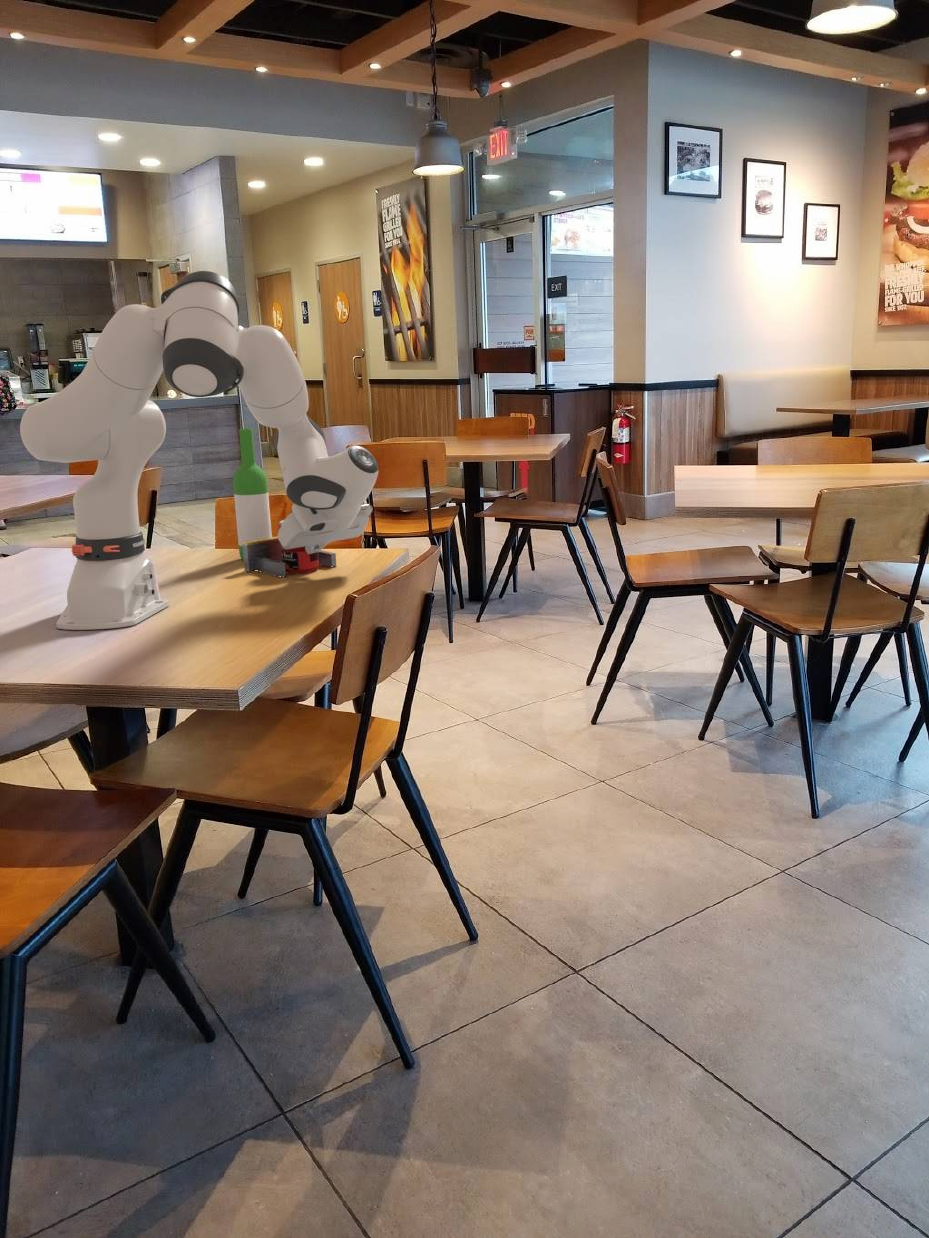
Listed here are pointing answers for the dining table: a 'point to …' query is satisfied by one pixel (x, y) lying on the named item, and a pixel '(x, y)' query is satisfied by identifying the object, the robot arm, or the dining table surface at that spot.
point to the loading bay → (273, 556)
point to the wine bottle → (250, 495)
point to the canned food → (299, 559)
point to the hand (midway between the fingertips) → (312, 550)
